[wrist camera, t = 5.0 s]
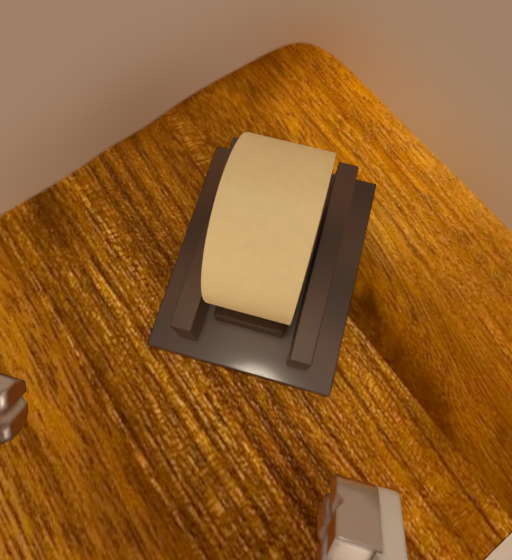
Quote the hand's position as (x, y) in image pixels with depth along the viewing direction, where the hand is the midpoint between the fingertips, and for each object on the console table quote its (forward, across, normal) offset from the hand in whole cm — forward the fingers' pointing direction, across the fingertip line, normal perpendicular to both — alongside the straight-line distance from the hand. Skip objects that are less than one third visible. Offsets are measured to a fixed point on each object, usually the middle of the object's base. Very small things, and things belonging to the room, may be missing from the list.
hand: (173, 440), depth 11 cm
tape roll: (+17, 0, +2) cm, 17 cm away
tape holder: (+18, 0, +3) cm, 18 cm away
